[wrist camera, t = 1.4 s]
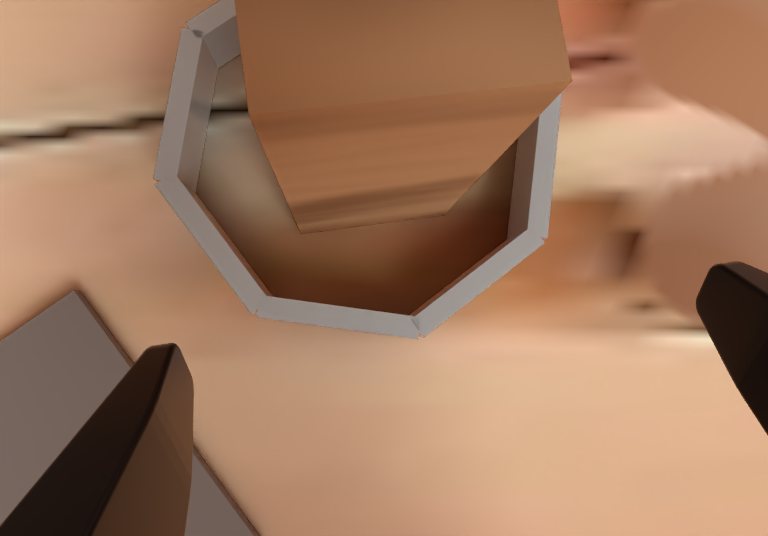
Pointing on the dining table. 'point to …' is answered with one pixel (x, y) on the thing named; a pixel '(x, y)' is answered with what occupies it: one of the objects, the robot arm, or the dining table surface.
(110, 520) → the robot arm
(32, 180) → the dining table surface
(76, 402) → the mat
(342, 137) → the walnut block
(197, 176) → the grey octagonal ring
